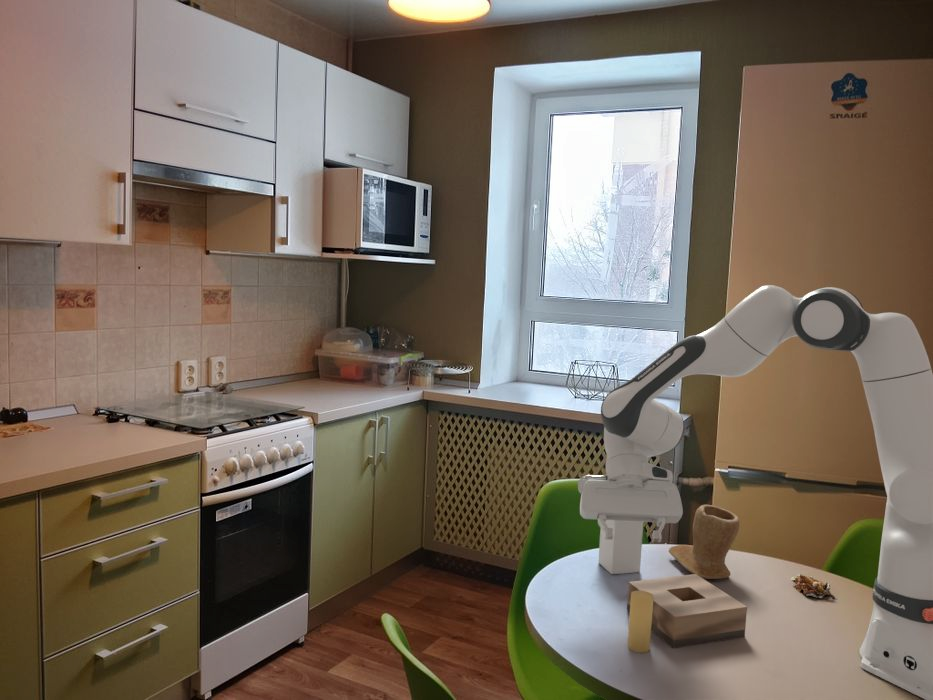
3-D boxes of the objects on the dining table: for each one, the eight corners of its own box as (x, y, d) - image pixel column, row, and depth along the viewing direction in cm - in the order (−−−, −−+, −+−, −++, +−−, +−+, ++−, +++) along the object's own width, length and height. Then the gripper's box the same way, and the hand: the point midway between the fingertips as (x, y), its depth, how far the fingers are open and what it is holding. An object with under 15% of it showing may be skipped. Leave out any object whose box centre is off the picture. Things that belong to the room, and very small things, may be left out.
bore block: (744, 636, 151) (747, 606, 150) (672, 648, 145) (675, 616, 145) (693, 601, 166) (695, 573, 165) (626, 610, 160) (628, 581, 160)
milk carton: (611, 575, 178) (616, 492, 176) (598, 563, 185) (602, 483, 182) (640, 572, 180) (645, 491, 178) (625, 561, 187) (631, 482, 184)
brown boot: (744, 582, 177) (750, 517, 175) (694, 584, 175) (699, 518, 173) (713, 556, 192) (718, 496, 190) (666, 558, 190) (671, 497, 188)
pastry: (808, 578, 182) (810, 563, 181) (839, 601, 170) (840, 586, 169) (780, 578, 181) (781, 563, 180) (808, 601, 169) (810, 586, 168)
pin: (654, 651, 144) (657, 598, 143) (635, 654, 143) (638, 601, 141) (642, 640, 148) (645, 589, 146) (623, 643, 146) (626, 591, 145)
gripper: (579, 467, 162) (581, 529, 153) (680, 471, 161) (688, 535, 153) (575, 482, 167) (578, 543, 158) (673, 486, 166) (681, 548, 158)
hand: (633, 539), depth 155 cm, fingers open, 8 cm apart
